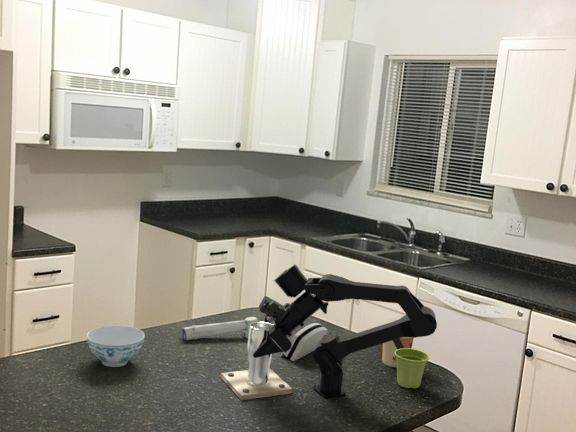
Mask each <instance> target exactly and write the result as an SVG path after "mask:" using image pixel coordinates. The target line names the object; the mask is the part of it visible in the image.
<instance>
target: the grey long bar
mask: <svg viewBox="0 0 576 432" xmlns="http://www.w3.org/2000/svg"><path fill="white" fill-rule="evenodd" d="M253 322H259V319H258V318H257V317H255V316H249V317H245V319H242V320H235V321H234V320H233V321H224V322H216V323H206V324H199V325H194V324H192V326H186V327H181V337H182V340H183V341H192V340H194V341H196V340H198V339H203V338H207V337H208V338H209V337H214V336H218V335H223V334H230V333H235V332H240V331H241V332H242V336H243V337H244V338H246V339H248V334H249V328H250V324H251V323H253Z"/></svg>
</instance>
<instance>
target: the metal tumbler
mask: <svg viewBox="0 0 576 432" xmlns="http://www.w3.org/2000/svg"><path fill="white" fill-rule="evenodd" d="M273 326H274V325H273V324H271V323H268V322H264V321H258V322H253V323H251V324H250V328H249V334H248V338H247V356H248V370H249V371H248V375H247V379H246V381H247V383H249V384H251V385H254V386H265V385H268V384H269V382H270V377H269V368H270V366H271V362H272V359H273V355H274V353H273V354H269V355H265V356H261V357H258V358H255V357H254V356H253V353H254V352H255V351H256V350H257V349H258V348H259V347H260V345H261V344H262V343H263V342H264V341H265V340H266V336H267V331H268V332H269V330H270V329H271V328H272V327H273Z"/></svg>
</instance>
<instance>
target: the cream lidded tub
mask: <svg viewBox="0 0 576 432" xmlns="http://www.w3.org/2000/svg"><path fill="white" fill-rule="evenodd" d="M397 320H398V319H387V320H386V321H384V323H383V325H384V324H387V323H390V322H393V321H397ZM414 339H415V338H413V337H402V338H398V339H395V340H392V341H389V342H386V343H382V355H381V356H382V358H381V359H382V360H381V361H382V363H383V364H384V365H386V366H388V367H391V368H395V369H397V360H396V355H395V351H396V350H397V349H402V348H409V349H413V343H414Z"/></svg>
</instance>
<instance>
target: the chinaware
mask: <svg viewBox="0 0 576 432" xmlns="http://www.w3.org/2000/svg"><path fill="white" fill-rule="evenodd" d="M145 338H146V337H145V332H144V331H142V330H141V329H139V328H136V327H133V326H128V325H105V326H104V325H103V326H99V327H96V328H93V329H91V330H90V331H88V332H87V333H86V341H87V344H88V345H87V346H89V349H90V351H91V353H92V354H93V355H94V356H95V357H96V358H97V359H98V360H100V361H101V364H102V365H103V366H106V367H108V368H109V367H111V368H119V367H124V366H125V365H127V364H128V361H130V360H131V359H133V358H134V357H135V356H136V355H137V354H138V352H139V351H140V350H141V347H142V346H143V344H144V341H145Z"/></svg>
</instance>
